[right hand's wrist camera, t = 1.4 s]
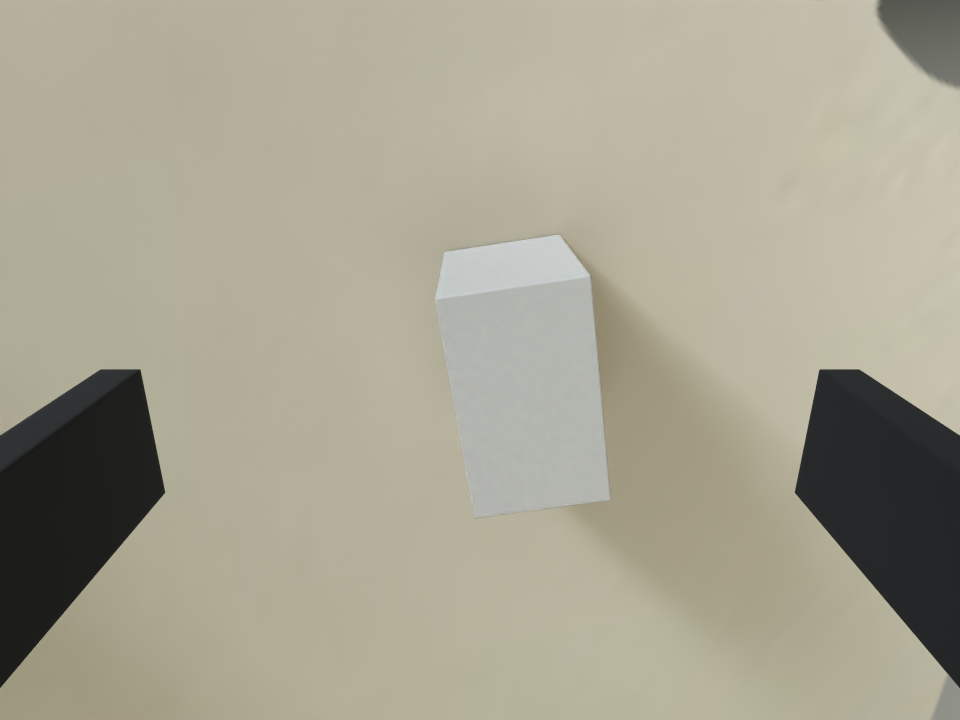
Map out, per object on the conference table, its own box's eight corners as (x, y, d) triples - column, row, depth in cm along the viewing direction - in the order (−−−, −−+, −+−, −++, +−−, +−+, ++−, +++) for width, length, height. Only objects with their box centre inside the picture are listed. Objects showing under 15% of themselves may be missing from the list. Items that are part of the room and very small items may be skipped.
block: (578, 410, 32) (611, 501, 25) (473, 425, 33) (474, 519, 25) (560, 234, 29) (591, 275, 22) (443, 251, 29) (434, 298, 22)
